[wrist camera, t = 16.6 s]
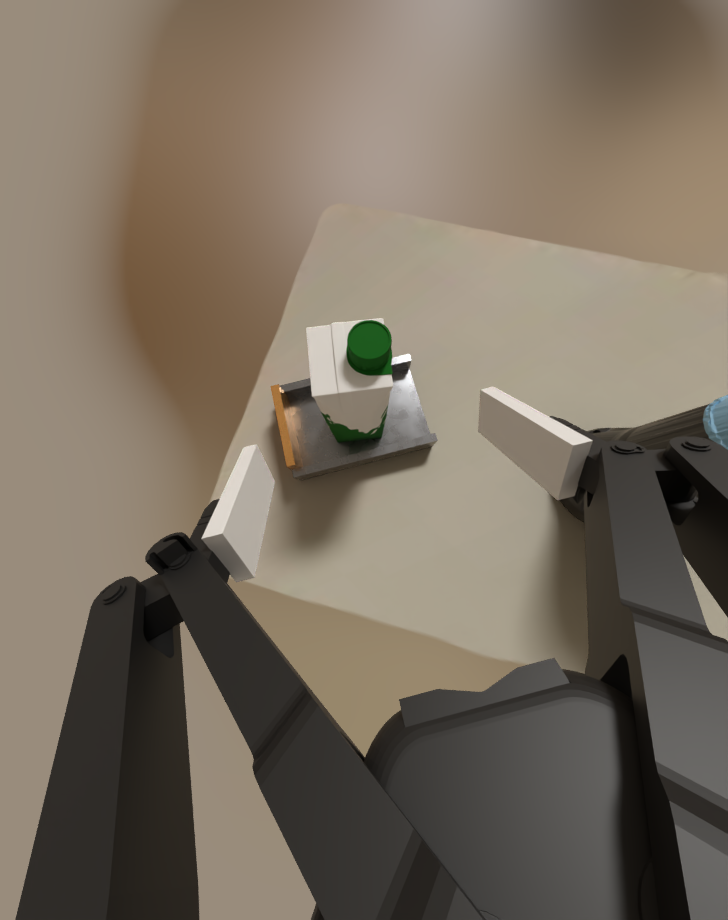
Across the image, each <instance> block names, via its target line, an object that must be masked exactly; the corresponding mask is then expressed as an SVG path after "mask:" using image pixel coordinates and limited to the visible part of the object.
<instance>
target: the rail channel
mask: <svg viewBox="0 0 728 920" xmlns="http://www.w3.org/2000/svg"><path fill="white" fill-rule="evenodd" d="M410 363H411V358H410V355H409V354H406V355H402V356H398V357H394V358H392V364H391V366H392V372H393V374H392V380H393V388H392V390H391V391H390V397H389V404H388V410H387V416H386V421H385V425H384V430H383V434H382V437H381V438H373V439H365V440H357V441H348V442H340V443H338V442H337V440H336V439H335V437H334V435H333V433H332V432H331V430H330V428H329V427H328V425H327V423H326V421H325V419H324V417H323V415H322V413H321V411H320V409H319V407H318V405H317V403H316V401H315V398H313V397H312V392H311V380H310V378H309V379H305V380H301V381H297V382H293V383H289V384H285V385H281V386H279V384H278V385H274V386H271V391H272V396H273V401H274V405H275V410H276V415H277V420H278V425H279V430H280V435H281V440H282V445H283V450H284V455H285V460H286V465H287V467H288V468H290V469H292V472H293V477H294V478H296V479H298V480H304V479H307V478H311V477H315V476H319V475H323V474H327V473H331V472H335V471H338V470H342V469H346V468H350V467H354V466H358V465H362V464H366V463H370V462H373V461H377V460H381V459H385V458H389V457H393V456H397V455H401V454H405V453H408V452H412V451H416V450H420V449H424V448H428V447H432V446H433V445H434V444H435V443H436V442H437V438H436V435H435V433H433V434H430V432H429V429H428V426H427V423H426V420H425V416H424V413H423V410H422V407H421V404H420V401H419V398H418V395H417V392H416V388H415V385H414V382H413V379H412V376H411V373H410V370H409V367H410Z"/></svg>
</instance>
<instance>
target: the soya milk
mask: <svg viewBox="0 0 728 920" xmlns="http://www.w3.org/2000/svg"><path fill="white" fill-rule="evenodd" d="M306 332H307V344H308V356H309V368H310V380H311V392H312V397H313V398H315V401H316V403H317V405H318V407H319V409H320V411H321V413H322V415H323V417H324V419H325V421H326V423H327V425H328V427H329V428H330V430H331V432H332V433H333V435H334V437H335V439H336V440H337V442H338V443H340V442H348V441H357V440H365V439H373V438H381V437H382V434H383V430H384V425H385V421H386V416H387V410H388V404H389V397H390V391H391V390H392V388H393V380H392V374H393V372H392V366H391V364H392V350H391V342H392V340H391V334H390V332H389V330H388V328H387V327H386V326H385V325H384V320H383V319H382V318H378V319H368V320H359V321H350V322H335V323H331V325H325V326H316V327H308V328H306Z"/></svg>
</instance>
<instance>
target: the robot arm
mask: <svg viewBox="0 0 728 920" xmlns="http://www.w3.org/2000/svg"><path fill="white" fill-rule="evenodd" d="M478 432H479V433H481V434H482V435H483V436H484V437H485V438H486V439H487V440H489V441H490V442H491V443H492V444H493V445H494V446H495V447H497V448H498V449H499V450H500V451H501V452H502V453H504V454H505V455H506V456H507V457H508V458H509V459H510V460H512V461H513V462H514V463H515V464H516V465H517V466H518V467H520V468H521V469H522V470H523V471H524V472H525V473H527V474H528V475H529V476H530V477H531V478H532V479H533V480H535V481H536V482H537V483H538V484H539V485H540V486H541V487H543V488H544V489H545V490H546V491H547V492H548V493H550V494H551V495H552V496H553V497H554V498H555V499H556V500H561V502H562V503H563V505H564V506H565V507H566V508H567V509H568V510H569V511H570V512H571V513H572V514H573V515H574V516H575V517H577V518H578V519H580V520H581V521H583V522H585V552H586V581H587V611H588V640H589V654H588V660H587V665H586V669H585V674H582V673H579V672H575V671H570V670H564V669H561V668H560V666H559V665H558V663H557V662H556V660H555V659H554V658H552V659H548V660H544V661H541V662H537V663H533V664H529V665H526V666H522V667H518V668H516V669H515V670H513V671H512V672H510V673H509V674H508V675H506V676H505V677H503V678H502V679H501V680H499V681H498V682H497V683H495V684H494V685H492V686H491V687H490V688H488V689H487V690H485V691H483V692H470V691H456V690H442V689H436V690H433V691H429V692H425V693H421V694H418V695H414V696H410V697H406V698H403V699H399V701H400V706H401V710H400V711H399V712H397V713H396V714H394V715H393V716H392V717H391V718H390V719H389V720H388V721H387V722H386V723H385V724H384V726H383V727H382V728H381V730H380V731H379V732H378V734H377V735H376V737H375V739H374V740H373V742H372V744H371V746H370V748H369V750H368V753H367V754H366V757H364V756H363V754H362V753H361V752H360V751H359V750H358V748H357V747H356V746H355V744H354V743H353V742H352V741H351V739H350V738H349V737H348V736H347V734H346V733H345V732H344V731H343V730H342V728H341V727H340V726H339V725H338V723H337V722H336V721H335V720H334V718H333V717H332V716H331V715H330V713H329V712H328V711H327V710H326V708H325V707H324V706H323V705H322V703H321V702H320V701H319V699H318V698H317V697H316V696H315V694H314V693H313V692H312V690H311V689H310V688H309V687H308V686H307V684H306V683H305V682H304V680H303V679H302V678H301V677H300V675H299V674H298V673H297V672H296V670H295V669H294V668H293V666H292V665H291V664H290V663H289V661H288V660H287V659H286V658H285V656H284V655H283V654H282V652H281V651H280V650H279V649H278V648H277V646H276V645H275V644H274V642H273V641H272V640H271V638H270V637H269V636H268V635H267V633H266V632H265V631H264V630H263V628H262V627H261V626H260V624H259V623H258V622H257V621H256V619H255V618H254V617H253V616H252V614H251V613H250V612H249V611H248V609H247V608H246V607H245V606H244V604H243V603H242V602H241V600H240V599H239V598H238V597H237V595H236V594H235V593H234V591H233V590H232V589H231V588H230V587H229V585H228V584H227V582H228V578H229V575H231V576H232V577H233V579H234V580H235V581H236V582H239V581H243V580H247V579H251V578H255V573H256V568H257V564H258V559H259V554H260V550H261V545H262V540H263V536H264V531H265V526H266V522H267V517H268V512H269V508H270V503H271V498H272V494H273V489H274V484H275V481H274V479H273V476H272V474H271V472H270V470H269V468H268V466H267V464H266V462H265V460H264V458H263V456H262V454H261V452H260V450H259V448H258V445H257V444H256V445H252V446H247V447H244V448H243V450H242V452H241V454H240V456H239V458H238V461H237V463H236V465H235V467H234V469H233V471H232V474H231V476H230V478H229V480H228V482H227V484H226V487H225V489H224V491H223V493H222V495H221V497H220V499H218V500H214V501H212V502H211V503H210V504H209V505H208V506H207V507H206V508H205V510H204V512H203V514H202V516H201V519H200V520H199V522H198V524H197V526H196V528H195V530H194V531H193V533H192V535H191V538H190V539H189V538H188V536H187V535H186V534H184V533H182V532H181V533H174V534H170V535H168V536H166V537H164V538H163V539H161V540H160V541H159V542H157V543H156V544H154V545H153V547H152V548H151V549H150V550H149V551H148V553H147V555H146V558H145V559H146V562H147V563H148V564H149V565H150V566H151V567H152V568H153V569H154V570H155V571H156V572H157V573H158V574H157V575H155V576H152V577H150V578H148V579H146V580H144V581H142V582H139V581H138V580H137V579H135V578H134V577H131V576H130V577H124V578H122V579H119V580H117V581H115V582H114V583H112V584H111V585H109V586H108V587H106V588H105V589H104V590H103V591H102V592H101V593H100V594H99V595H98V596H97V598H96V599H95V600H94V602H93V604H92V606H91V609H90V613H89V618H88V621H87V626H86V630H85V634H84V638H83V642H82V646H81V650H80V654H79V659H78V663H77V667H76V671H75V675H74V679H73V684H72V688H71V692H70V696H69V700H68V704H67V709H66V713H65V717H64V721H63V725H62V729H61V733H60V737H59V741H58V746H57V750H56V754H55V759H54V762H53V767H52V770H51V775H50V779H49V783H48V787H47V791H46V795H45V799H44V804H43V808H42V812H41V816H40V820H39V824H38V828H37V833H36V837H35V841H34V845H33V849H32V854H31V858H30V862H29V866H28V870H27V874H26V879H25V883H24V887H23V891H22V895H21V899H20V903H19V907H18V911H17V916H16V920H199V896H198V877H197V862H196V848H195V834H194V820H193V806H192V791H191V777H190V763H189V749H188V736H187V721H186V708H185V693H184V680H183V665H182V651H181V637H180V623H181V622H183V621H184V622H185V624H186V626H187V628H188V630H189V632H190V634H191V636H192V638H193V639H194V641H195V643H196V645H197V647H198V649H199V651H200V653H201V655H202V657H203V659H204V661H205V663H206V665H207V667H208V669H209V671H210V672H211V674H212V676H213V678H214V680H215V682H216V684H217V686H218V688H219V690H220V692H221V693H222V696H223V697H224V700H225V702H226V703H227V705H228V707H229V709H230V711H231V713H232V715H233V717H234V719H235V721H236V723H237V725H238V727H239V729H240V731H241V733H242V734H243V736H244V738H245V740H246V742H247V744H248V746H249V748H250V750H251V752H252V755H253V758H254V762H253V771H254V775H255V778H256V780H257V783H258V785H259V787H260V789H261V792H262V794H263V796H264V797H265V800H266V802H267V804H268V806H269V808H270V810H271V812H272V814H273V816H274V818H275V820H276V822H277V824H278V826H279V828H280V830H281V832H282V834H283V836H284V838H285V840H286V842H287V844H288V846H289V848H290V850H291V852H292V855H293V856H294V858H295V861H296V863H297V865H298V867H299V869H300V871H301V873H302V875H303V877H304V879H305V881H306V883H307V885H308V887H309V889H310V891H311V893H312V895H313V897H314V899H315V901H316V906H315V909H314V912H313V915H312V918H311V920H728V641H727V640H726V639H723V638H720V637H717V636H714V635H712V634H711V633H710V632H709V630H708V628H707V626H706V623H705V620H704V617H703V614H702V611H701V608H700V605H699V602H698V599H697V596H696V593H695V590H694V587H693V584H692V581H691V578H690V575H689V572H688V569H687V566H686V563H685V560H684V557H685V558H686V559H687V561H688V562H689V564H690V565H691V566H692V568H693V569H694V571H695V572H696V573H697V575H698V576H699V578H700V579H701V580H702V582H703V583H704V585H705V586H706V588H707V589H708V590H709V592H710V593H711V595H712V596H713V597H714V599H715V600H716V602H717V603H718V604H719V606H720V607H721V609H722V610H723V611H724V613H725V614H726V616H727V617H728V395H726V396H723V397H721V398H718V399H716V400H714V401H713V402H712V403H711V404H708V405H704V406H701V407H698V408H695V409H692V410H689V411H686V412H682V413H679V414H676V415H673V416H670V417H667V418H664V419H660V420H657V421H654V422H651V423H648V424H645V425H642V426H639V427H636V428H599V429H593V430H589V431H585V430H583V429H580V428H579V427H577V426H575V425H573V424H571V423H569V422H568V421H566V420H564V419H560V418H556V417H553V416H550V417H548V416H547V415H545V414H543V413H541V412H539V411H537V410H536V409H534V408H532V407H530V406H528V405H526V404H524V403H523V402H521V401H519V400H517V399H515V398H513V397H512V396H510V395H508V394H506V393H504V392H502V391H501V390H499V389H497V388H495V387H489V388H485V389H481V390H480V407H479V426H478ZM683 555H684V557H683Z"/></svg>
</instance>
